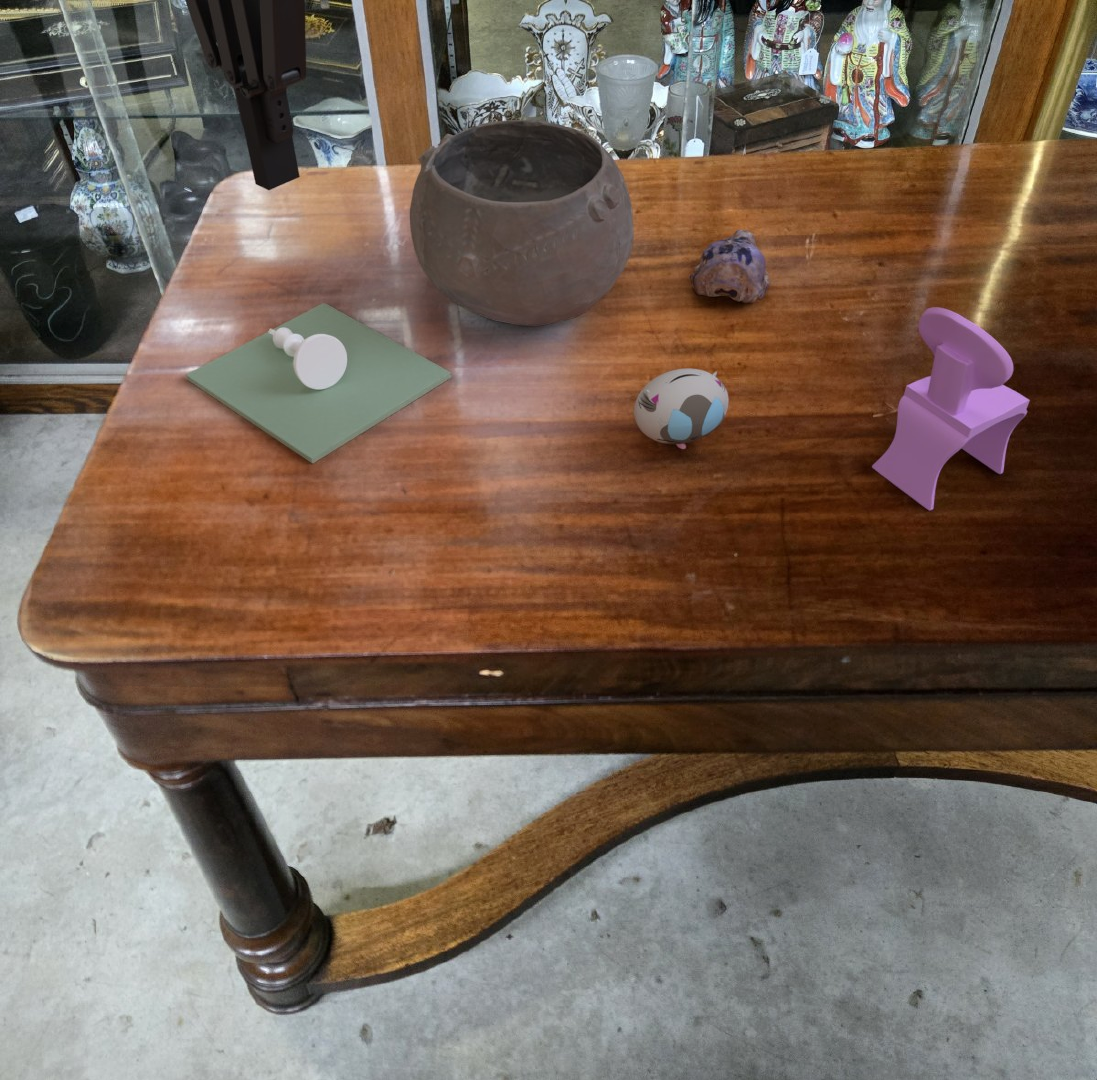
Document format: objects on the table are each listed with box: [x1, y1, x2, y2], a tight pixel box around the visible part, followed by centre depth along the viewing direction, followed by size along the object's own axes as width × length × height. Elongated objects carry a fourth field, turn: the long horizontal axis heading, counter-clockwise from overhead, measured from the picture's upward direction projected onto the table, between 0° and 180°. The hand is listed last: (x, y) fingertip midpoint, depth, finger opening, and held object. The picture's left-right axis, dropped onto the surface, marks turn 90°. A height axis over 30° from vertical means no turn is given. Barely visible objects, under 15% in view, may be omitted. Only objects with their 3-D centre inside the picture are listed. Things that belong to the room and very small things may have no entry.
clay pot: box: [409, 119, 635, 327], centre depth 98 cm, size 21×21×15 cm
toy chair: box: [871, 306, 1031, 512], centre depth 79 cm, size 8×9×15 cm
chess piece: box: [267, 327, 347, 390], centre depth 94 cm, size 5×5×10 cm
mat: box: [185, 302, 452, 465], centre depth 94 cm, size 16×18×1 cm
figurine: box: [633, 367, 730, 450], centre depth 85 cm, size 8×6×7 cm
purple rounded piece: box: [689, 229, 772, 304], centre depth 103 cm, size 12×8×6 cm, turn 154°
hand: (277, 180), depth 73 cm, fingers closed
